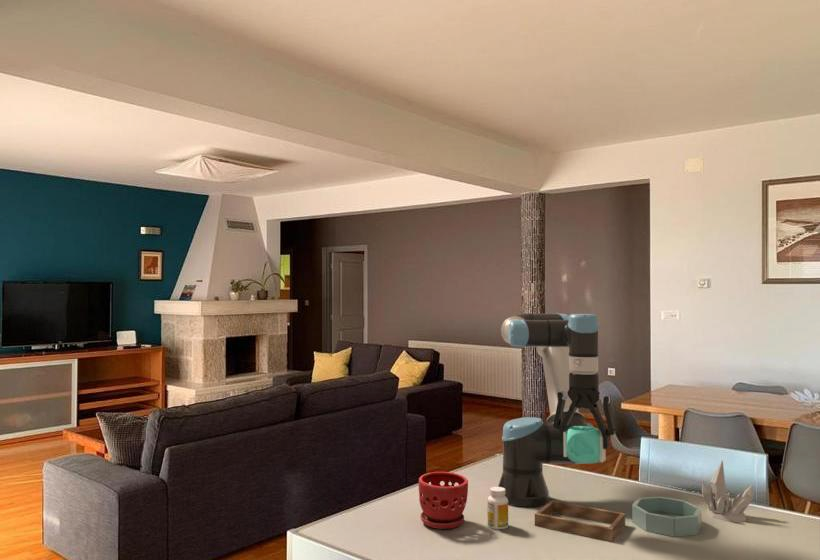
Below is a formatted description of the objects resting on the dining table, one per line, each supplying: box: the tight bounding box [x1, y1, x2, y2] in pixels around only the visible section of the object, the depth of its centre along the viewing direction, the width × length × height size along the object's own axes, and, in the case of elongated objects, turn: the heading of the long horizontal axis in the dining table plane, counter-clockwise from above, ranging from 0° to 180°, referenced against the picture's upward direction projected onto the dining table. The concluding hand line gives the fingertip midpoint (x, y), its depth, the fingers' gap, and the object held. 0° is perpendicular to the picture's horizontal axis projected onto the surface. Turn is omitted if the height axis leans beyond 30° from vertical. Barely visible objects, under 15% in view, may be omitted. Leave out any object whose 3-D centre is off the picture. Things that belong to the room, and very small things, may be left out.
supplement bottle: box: [487, 486, 509, 530], centre depth 165 cm, size 5×5×10 cm
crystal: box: [701, 460, 755, 523], centre depth 173 cm, size 10×13×15 cm
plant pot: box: [418, 471, 469, 530], centre depth 167 cm, size 13×13×12 cm
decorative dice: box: [567, 426, 602, 465], centre depth 166 cm, size 8×8×8 cm
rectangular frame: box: [534, 499, 626, 542], centre depth 165 cm, size 20×13×3 cm, turn 57°
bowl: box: [631, 495, 702, 537], centre depth 166 cm, size 16×16×4 cm
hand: (584, 458), depth 166 cm, fingers closed on decorative dice, 9 cm apart
